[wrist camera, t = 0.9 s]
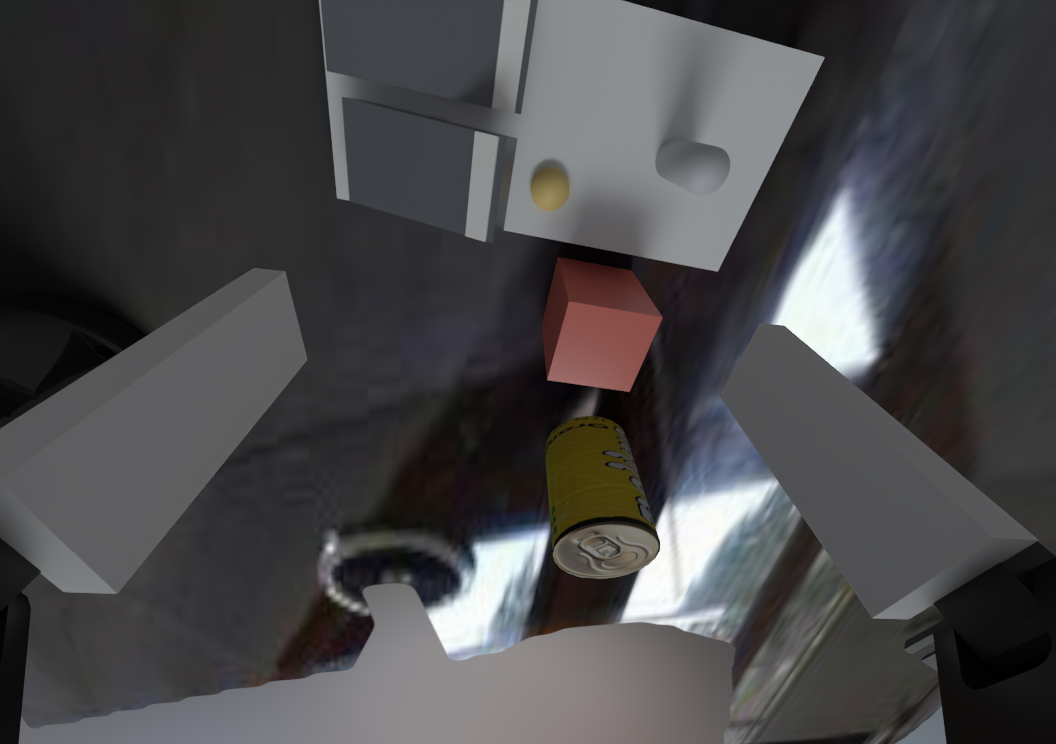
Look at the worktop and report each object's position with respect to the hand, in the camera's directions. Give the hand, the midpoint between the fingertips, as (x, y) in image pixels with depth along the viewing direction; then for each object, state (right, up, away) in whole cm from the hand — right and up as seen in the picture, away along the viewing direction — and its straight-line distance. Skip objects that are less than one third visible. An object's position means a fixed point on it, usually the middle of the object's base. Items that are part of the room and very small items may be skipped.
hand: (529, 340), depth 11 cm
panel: (+2, +15, +13) cm, 20 cm away
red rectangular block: (+5, +5, +20) cm, 21 cm away
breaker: (-4, +15, +6) cm, 17 cm away
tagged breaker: (-6, +10, +10) cm, 15 cm away
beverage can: (+6, -9, +31) cm, 33 cm away
